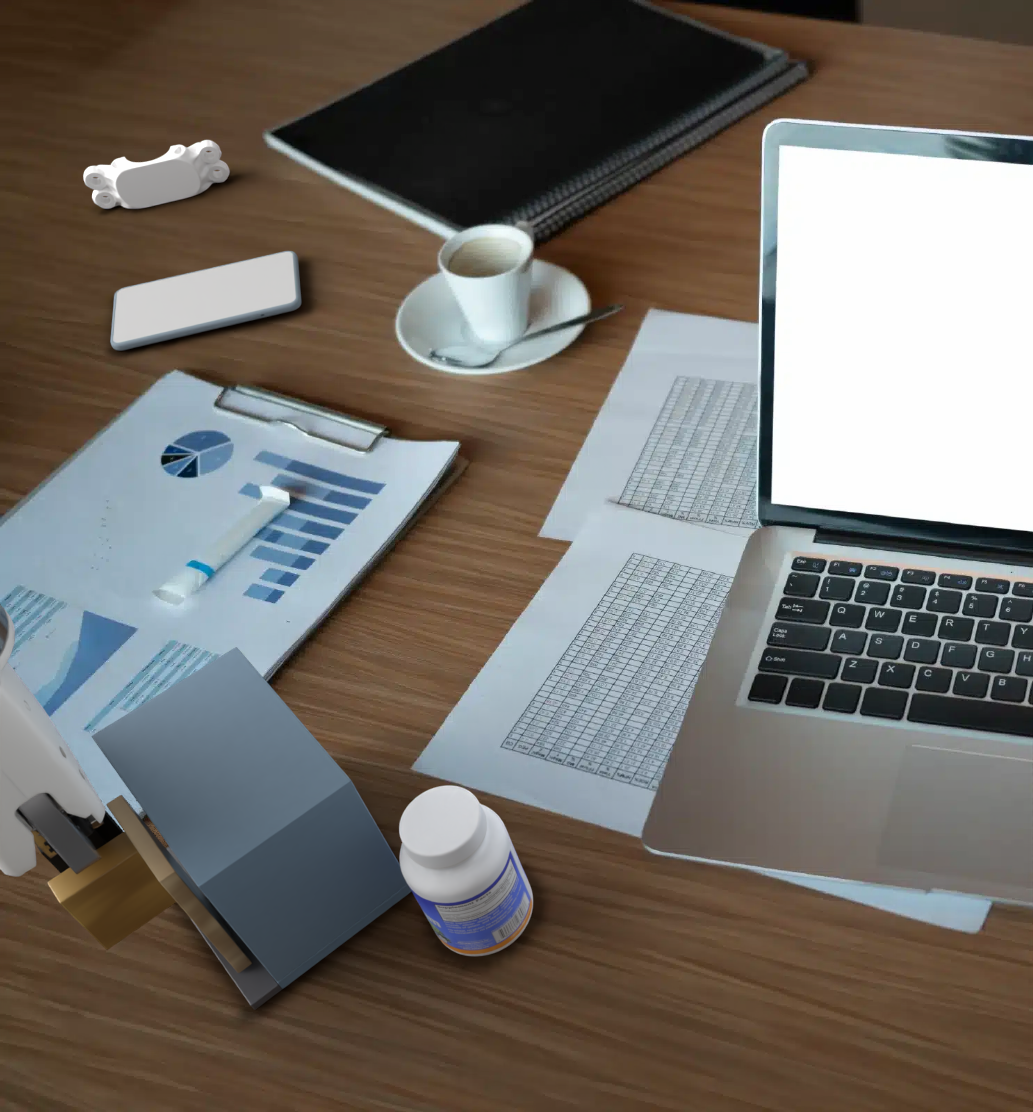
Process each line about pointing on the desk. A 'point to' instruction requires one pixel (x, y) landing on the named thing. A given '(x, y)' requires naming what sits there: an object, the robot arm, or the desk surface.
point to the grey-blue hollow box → (256, 819)
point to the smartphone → (205, 300)
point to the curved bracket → (157, 177)
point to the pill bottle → (464, 871)
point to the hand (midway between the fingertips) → (102, 862)
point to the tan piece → (138, 889)
